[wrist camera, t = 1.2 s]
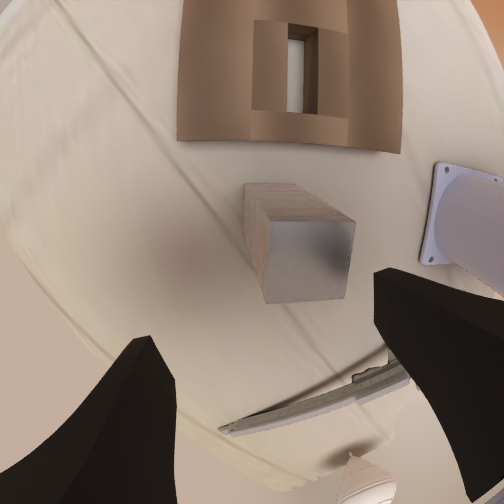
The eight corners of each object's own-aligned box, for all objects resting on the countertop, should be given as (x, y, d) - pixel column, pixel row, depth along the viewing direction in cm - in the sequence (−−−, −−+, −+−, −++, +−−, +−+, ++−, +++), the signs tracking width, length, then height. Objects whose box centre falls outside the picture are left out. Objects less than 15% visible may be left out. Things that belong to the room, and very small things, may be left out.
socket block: (369, -45, 11) (385, -58, 8) (378, 150, 17) (400, 154, 14) (198, -70, 9) (198, -90, 7) (182, 140, 15) (176, 141, 13)
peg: (294, 183, 17) (355, 222, 10) (291, 232, 18) (343, 298, 11) (244, 183, 17) (270, 221, 9) (243, 232, 18) (266, 304, 10)
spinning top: (314, 468, 31) (336, 537, 20) (338, 440, 29) (369, 520, 18) (359, 461, 33) (384, 522, 22) (385, 432, 30) (419, 500, 19)
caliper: (407, 323, 23) (446, 366, 17) (409, 330, 23) (446, 373, 18) (217, 426, 25) (221, 479, 19) (223, 430, 25) (228, 482, 20)
